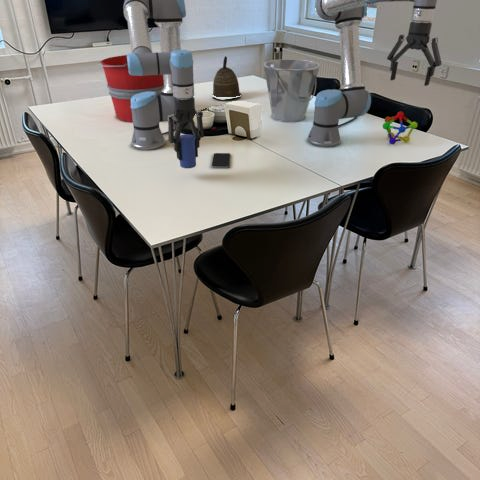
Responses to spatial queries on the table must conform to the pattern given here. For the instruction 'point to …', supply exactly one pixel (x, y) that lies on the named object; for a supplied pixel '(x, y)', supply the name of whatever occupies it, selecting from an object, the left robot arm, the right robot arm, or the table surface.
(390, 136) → the educational toy
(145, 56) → the left robot arm
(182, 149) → the can
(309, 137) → the right robot arm
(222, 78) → the bell
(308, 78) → the bucket
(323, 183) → the table surface
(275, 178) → the table surface
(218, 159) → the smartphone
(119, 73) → the bucket
